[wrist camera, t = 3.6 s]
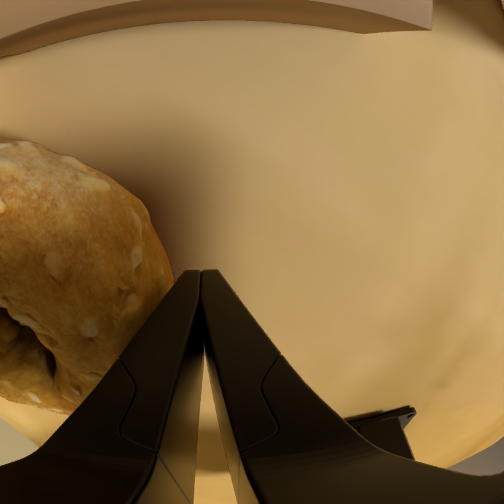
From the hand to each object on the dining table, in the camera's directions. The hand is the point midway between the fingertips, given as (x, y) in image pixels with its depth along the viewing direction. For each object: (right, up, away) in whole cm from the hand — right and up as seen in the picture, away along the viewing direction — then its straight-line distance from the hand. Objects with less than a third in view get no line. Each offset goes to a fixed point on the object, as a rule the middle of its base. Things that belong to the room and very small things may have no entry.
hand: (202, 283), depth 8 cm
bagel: (-6, 0, +2) cm, 6 cm away
